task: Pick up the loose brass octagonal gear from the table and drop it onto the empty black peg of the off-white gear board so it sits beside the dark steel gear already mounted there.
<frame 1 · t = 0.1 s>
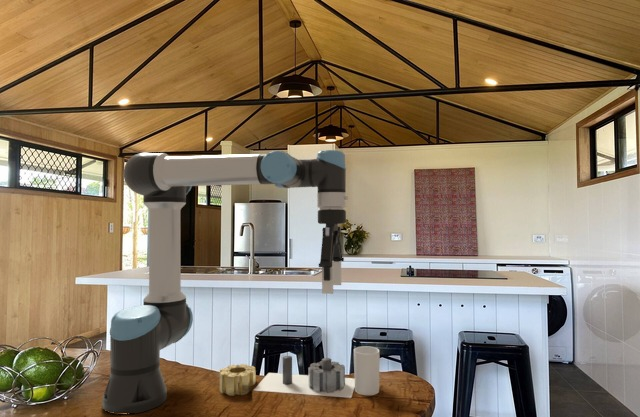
hand: (332, 289, 114), 28 cm above the table, fingers open, 13 cm apart
board: (306, 389, 117), on the table
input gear: (237, 388, 119), on the table
mug: (367, 394, 115), on the table
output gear: (326, 385, 116), point 1 cm above the table, touching board
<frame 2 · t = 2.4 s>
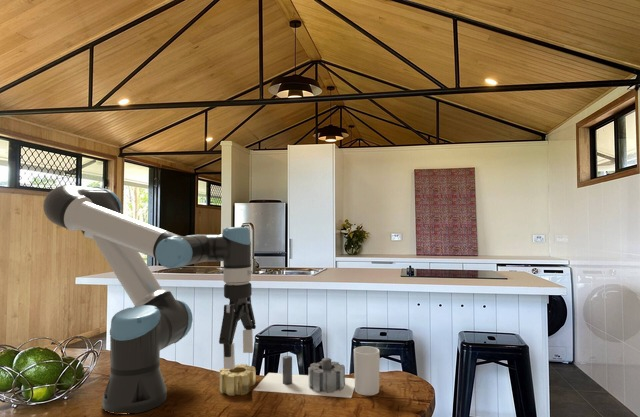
hand: (239, 360, 119), 8 cm above the table, fingers open, 13 cm apart
nothing on the table moved.
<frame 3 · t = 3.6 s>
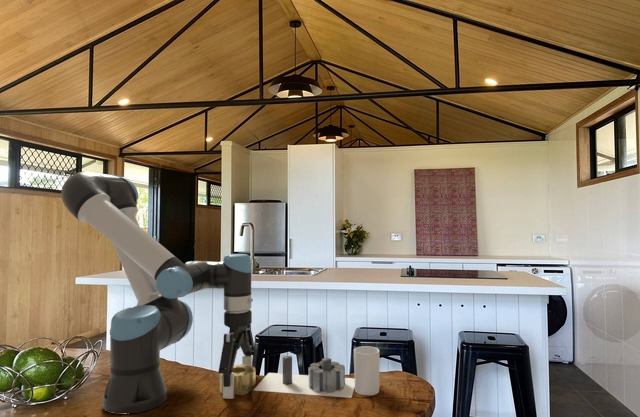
hand: (238, 387, 119), 0 cm above the table, fingers open, 13 cm apart
nothing on the table moved.
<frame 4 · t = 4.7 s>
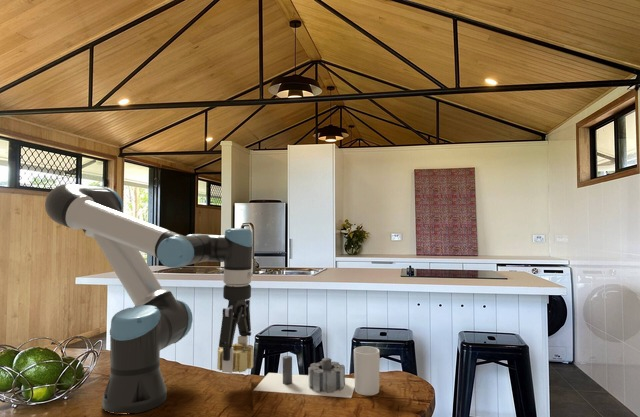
hand: (235, 365, 119), 6 cm above the table, fingers closed on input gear, 10 cm apart
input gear: (235, 366, 119), point 6 cm above the table, touching gripper
everything else where it was.
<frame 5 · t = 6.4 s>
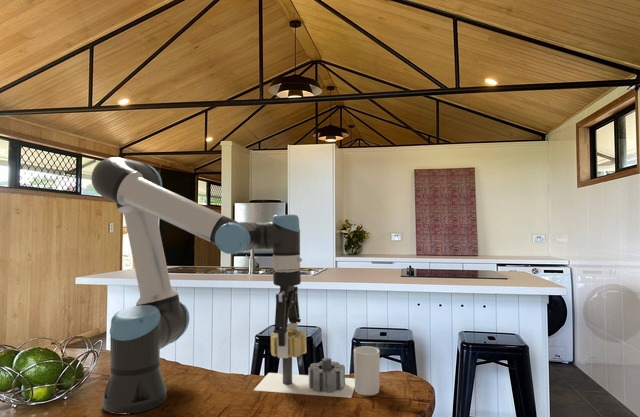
hand: (288, 351, 119), 10 cm above the table, fingers closed on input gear, 10 cm apart
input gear: (288, 352, 119), point 10 cm above the table, touching gripper
everything else where it was.
when the fingers open (2 cm above the table, at t = 8.3 s): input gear stays where it is, resting on board.
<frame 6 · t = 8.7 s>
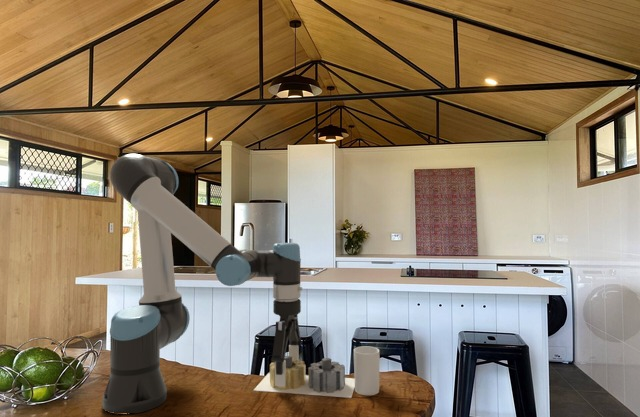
hand: (287, 376, 118), 3 cm above the table, fingers open, 13 cm apart
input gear: (287, 382, 118), point 1 cm above the table, touching board
everything else where it was.
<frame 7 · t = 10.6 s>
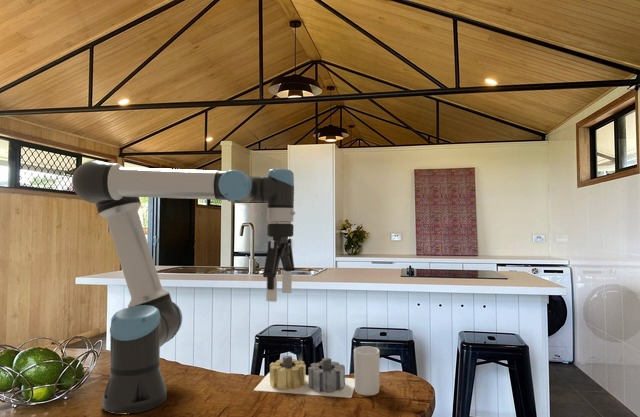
hand: (279, 297, 124), 24 cm above the table, fingers open, 13 cm apart
nothing on the table moved.
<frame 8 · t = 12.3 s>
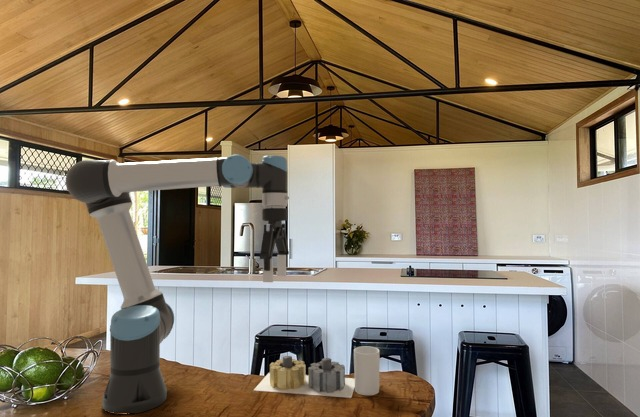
hand: (275, 278, 129), 29 cm above the table, fingers open, 13 cm apart
nothing on the table moved.
at the end: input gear 0.1 cm from the target spot, point 1.5 cm above the table; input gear tilted 0° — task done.
